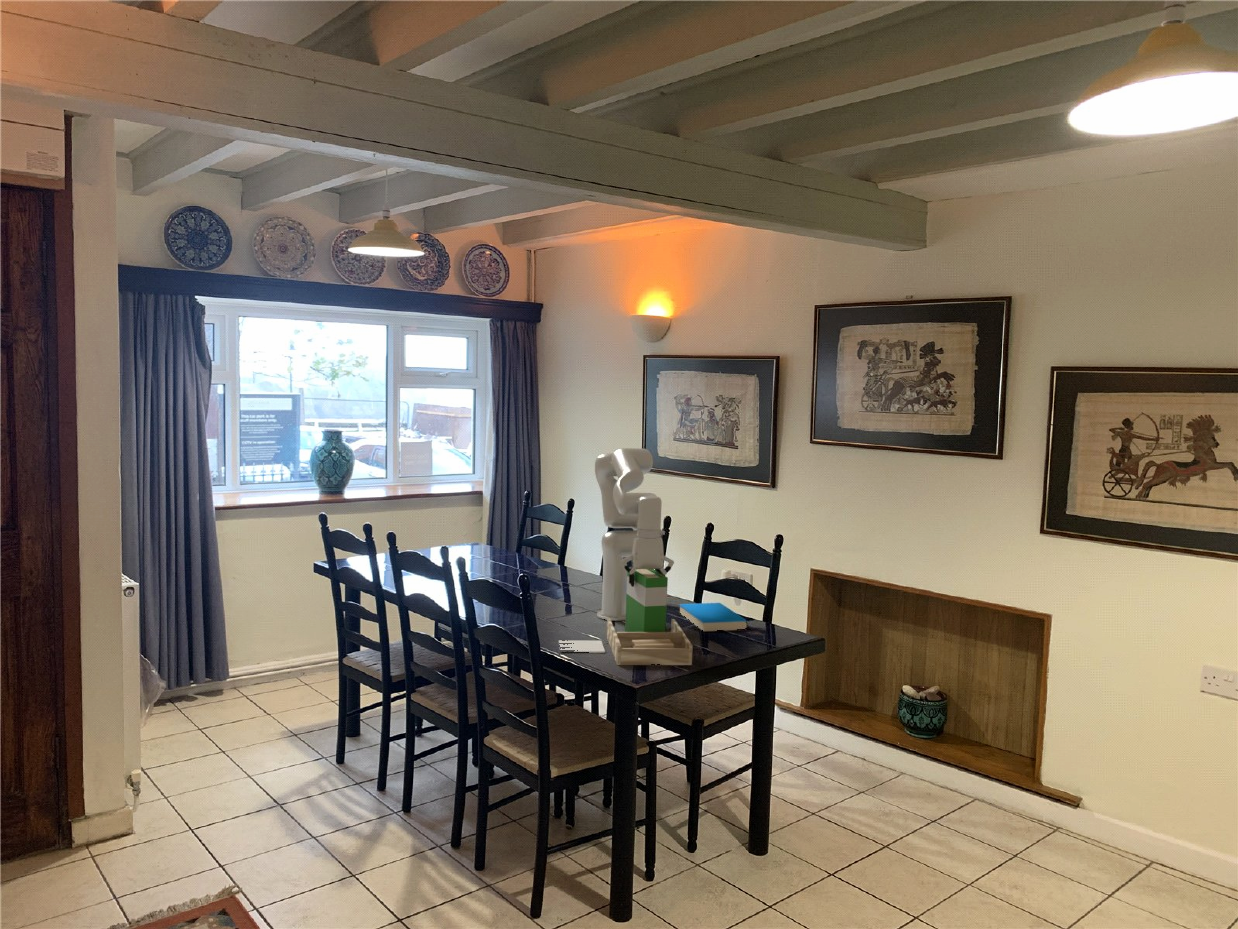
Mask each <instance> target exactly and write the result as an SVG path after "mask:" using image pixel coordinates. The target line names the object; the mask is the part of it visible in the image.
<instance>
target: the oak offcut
mask: <svg viewBox="0 0 1238 929" xmlns="http://www.w3.org/2000/svg"><path fill="white" fill-rule="evenodd" d="M632 648H674V644H673V643H672V642H671V641H670V639H653V640H632Z"/></svg>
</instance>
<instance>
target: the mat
mask: <svg viewBox="0 0 1238 929" xmlns="http://www.w3.org/2000/svg"><path fill="white" fill-rule="evenodd" d="M559 643H572V644H568V645H567V644H565V645H563V644H559ZM573 643H574V644H573ZM558 645H560V647H570V648H565V649H562V648H561V649H560V647H559V651H560V650H575V651H574V652H589V653H588V654H606V650H605V648H604V644H603V641H602V640H583V639H581V640H579V639H577V640H575V639H574V640H568V641H567V640H565V641H562V640H558ZM571 647H572V648H571ZM577 650H578V651H577Z"/></svg>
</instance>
